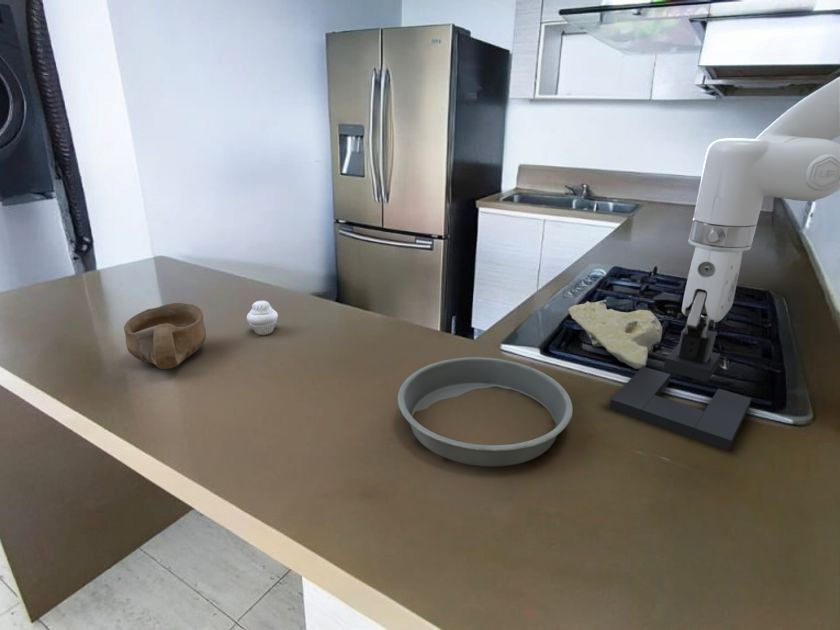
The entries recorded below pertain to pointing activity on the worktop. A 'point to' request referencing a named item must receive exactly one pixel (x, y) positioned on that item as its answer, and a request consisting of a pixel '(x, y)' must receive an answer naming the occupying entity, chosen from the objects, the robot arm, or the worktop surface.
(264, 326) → the muffin
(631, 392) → the dark grey u-shaped block
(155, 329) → the bowl
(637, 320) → the cheese
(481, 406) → the worktop surface
